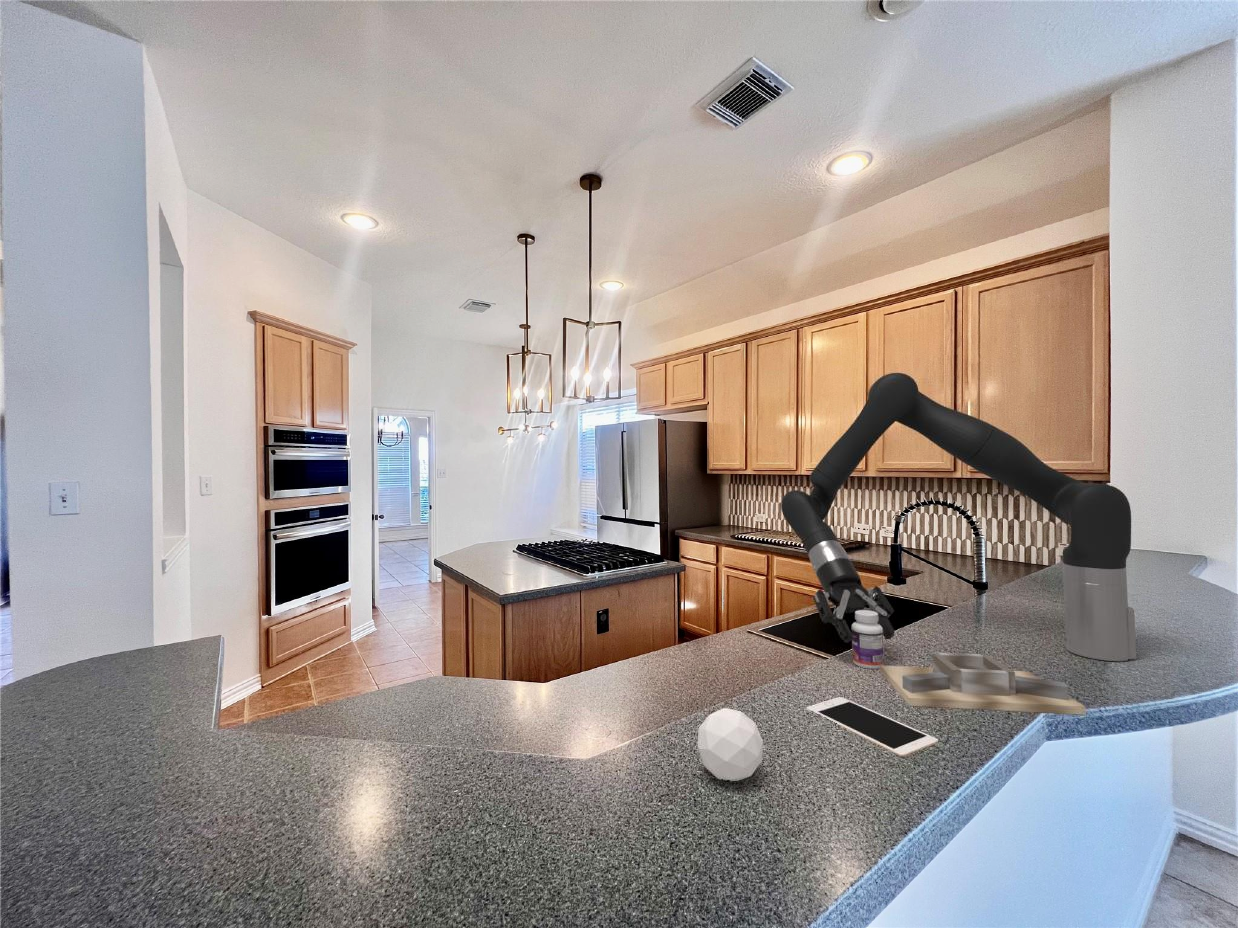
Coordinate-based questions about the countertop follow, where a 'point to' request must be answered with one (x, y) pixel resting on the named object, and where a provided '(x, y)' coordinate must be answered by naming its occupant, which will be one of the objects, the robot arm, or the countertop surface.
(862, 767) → the countertop surface
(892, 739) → the cell phone
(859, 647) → the pill bottle
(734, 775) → the ball
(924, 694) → the base
